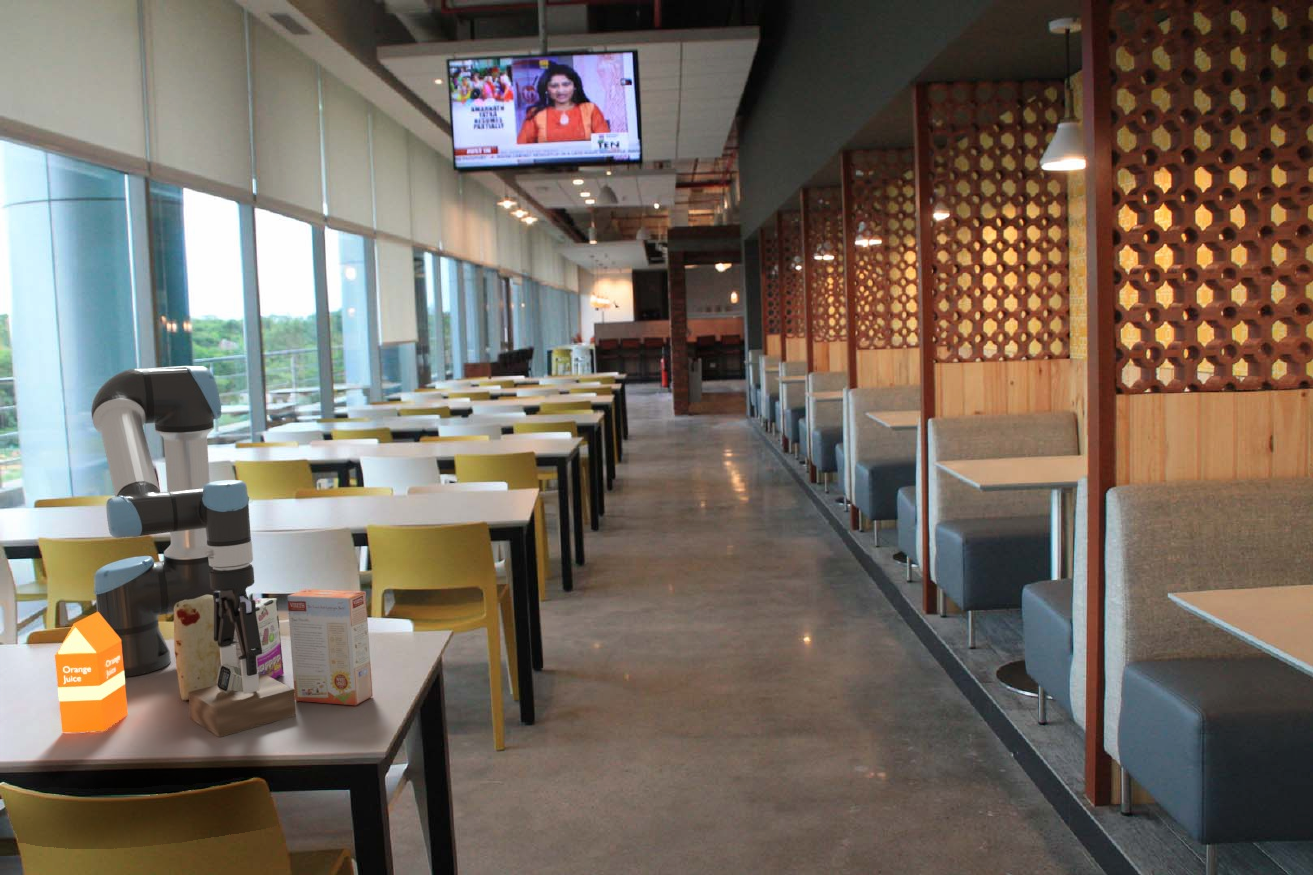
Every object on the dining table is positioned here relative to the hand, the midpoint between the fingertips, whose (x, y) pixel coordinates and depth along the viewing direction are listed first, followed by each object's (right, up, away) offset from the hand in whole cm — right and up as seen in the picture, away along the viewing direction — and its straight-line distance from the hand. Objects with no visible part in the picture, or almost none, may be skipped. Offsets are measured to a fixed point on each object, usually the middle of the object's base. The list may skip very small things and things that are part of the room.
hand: (240, 685), depth 194 cm
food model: (-13, -5, +13) cm, 19 cm away
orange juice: (-27, -7, 0) cm, 28 cm away
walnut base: (0, -6, 0) cm, 6 cm away
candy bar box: (-4, -4, +20) cm, 21 cm away
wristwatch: (0, -1, 0) cm, 1 cm away
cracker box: (+15, -5, +8) cm, 18 cm away
